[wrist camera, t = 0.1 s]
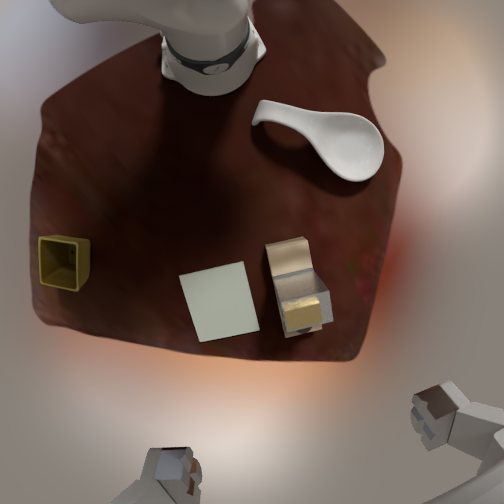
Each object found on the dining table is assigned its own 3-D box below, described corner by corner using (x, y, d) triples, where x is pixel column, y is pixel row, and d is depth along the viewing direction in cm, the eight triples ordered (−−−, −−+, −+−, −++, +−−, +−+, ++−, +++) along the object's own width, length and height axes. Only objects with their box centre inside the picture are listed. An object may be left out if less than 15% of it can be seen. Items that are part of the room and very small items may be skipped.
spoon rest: (383, 133, 53) (401, 128, 46) (366, 190, 56) (382, 192, 49) (264, 85, 51) (268, 73, 44) (243, 145, 53) (244, 141, 46)
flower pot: (62, 227, 55) (37, 236, 46) (99, 232, 55) (77, 242, 46) (62, 270, 57) (39, 284, 48) (98, 276, 57) (78, 292, 48)
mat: (179, 275, 58) (178, 276, 57) (242, 261, 58) (243, 262, 57) (200, 340, 61) (199, 342, 61) (259, 328, 61) (259, 330, 60)
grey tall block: (273, 279, 54) (281, 305, 43) (313, 269, 54) (331, 293, 43) (279, 305, 55) (288, 336, 44) (317, 296, 55) (335, 324, 44)
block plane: (265, 245, 57) (267, 252, 52) (303, 236, 57) (309, 243, 52) (283, 328, 61) (286, 342, 56) (317, 319, 61) (324, 332, 56)
